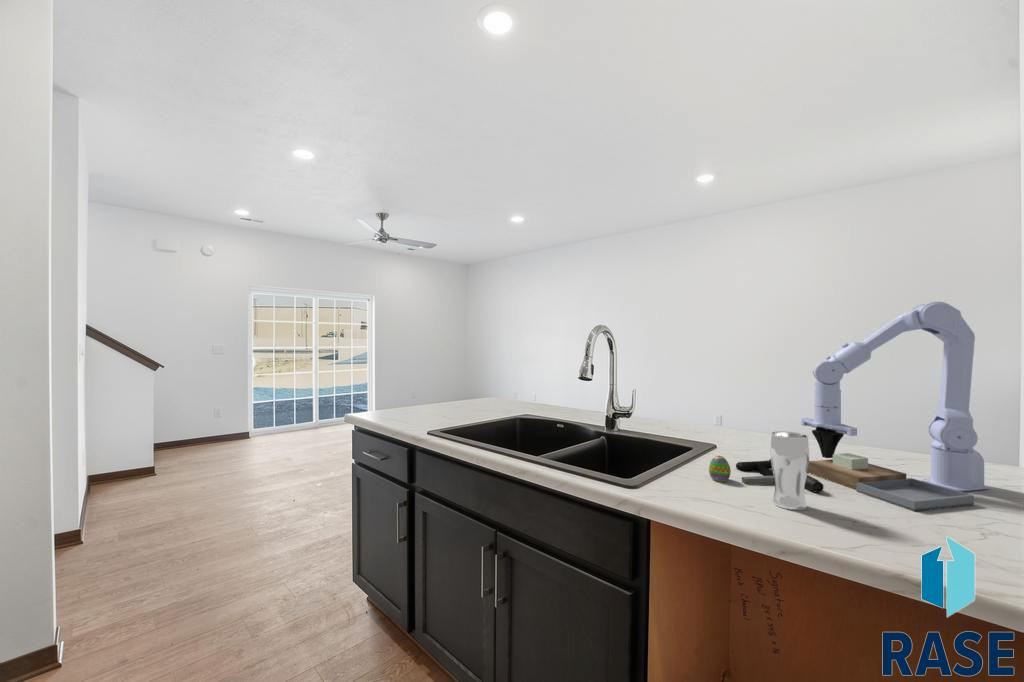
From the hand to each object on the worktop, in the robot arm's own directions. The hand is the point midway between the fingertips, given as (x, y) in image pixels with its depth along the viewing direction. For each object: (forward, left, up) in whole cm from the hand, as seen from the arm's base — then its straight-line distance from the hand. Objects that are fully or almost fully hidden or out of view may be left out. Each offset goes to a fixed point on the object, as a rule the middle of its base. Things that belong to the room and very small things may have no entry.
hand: (827, 457), depth 117 cm
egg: (+33, 0, -4) cm, 33 cm away
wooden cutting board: (0, +7, -4) cm, 8 cm away
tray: (0, +20, -4) cm, 21 cm away
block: (0, +6, -1) cm, 6 cm away
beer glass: (+30, +18, -4) cm, 35 cm away
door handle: (+21, +3, -4) cm, 21 cm away
